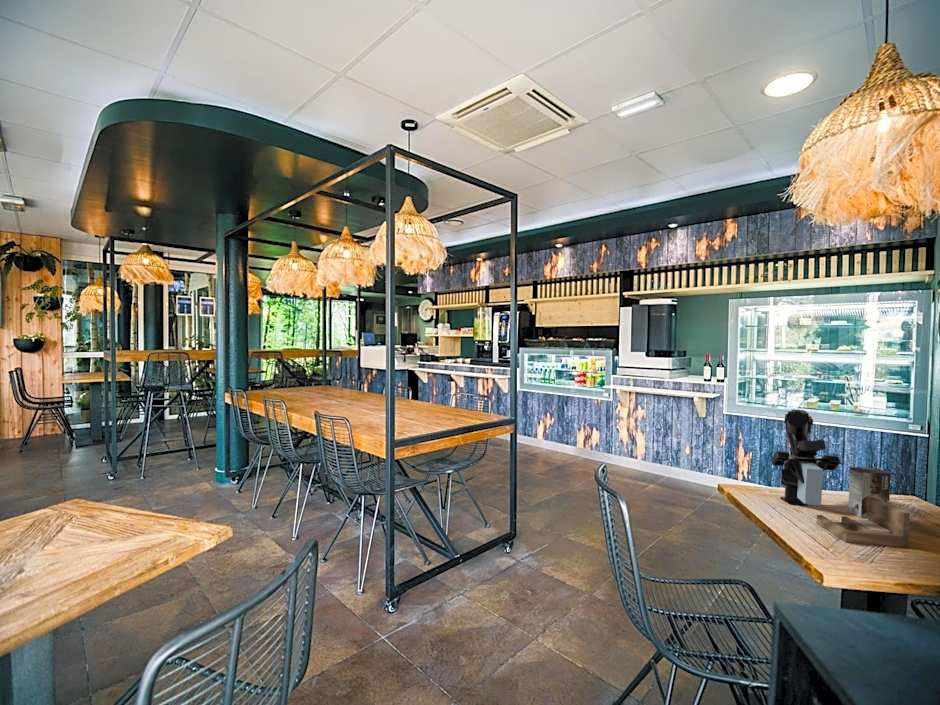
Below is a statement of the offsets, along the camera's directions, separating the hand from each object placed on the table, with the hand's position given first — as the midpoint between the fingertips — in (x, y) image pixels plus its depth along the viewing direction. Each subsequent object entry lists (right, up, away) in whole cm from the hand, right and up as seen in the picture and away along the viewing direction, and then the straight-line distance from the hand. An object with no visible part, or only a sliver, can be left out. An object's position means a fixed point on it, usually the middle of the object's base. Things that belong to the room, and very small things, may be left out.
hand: (811, 483), depth 148 cm
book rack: (+9, -14, -8) cm, 18 cm away
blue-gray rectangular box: (0, -7, +2) cm, 7 cm away
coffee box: (+26, -14, +9) cm, 31 cm away
